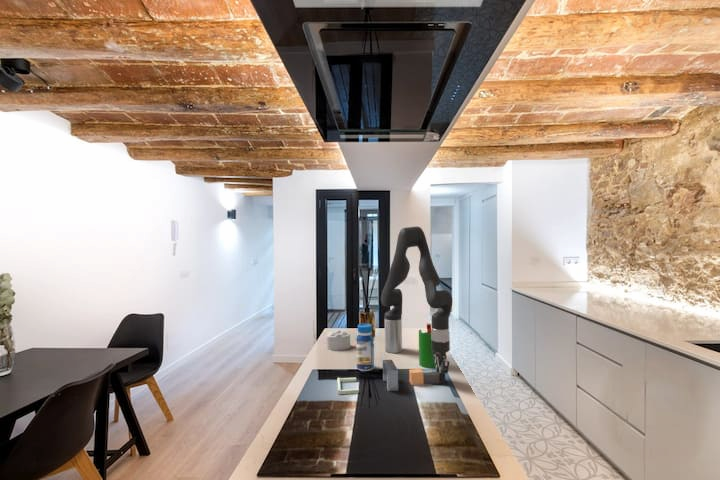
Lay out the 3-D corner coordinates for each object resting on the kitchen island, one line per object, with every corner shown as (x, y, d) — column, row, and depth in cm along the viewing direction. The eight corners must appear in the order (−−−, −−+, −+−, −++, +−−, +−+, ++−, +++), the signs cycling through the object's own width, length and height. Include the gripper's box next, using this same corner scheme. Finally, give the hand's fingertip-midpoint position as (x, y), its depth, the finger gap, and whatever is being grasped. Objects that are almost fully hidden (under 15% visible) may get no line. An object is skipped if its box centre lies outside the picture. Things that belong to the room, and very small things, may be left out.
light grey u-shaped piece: (337, 381, 138) (337, 377, 138) (356, 380, 139) (356, 376, 139) (338, 394, 126) (338, 390, 126) (358, 393, 127) (358, 389, 127)
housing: (388, 391, 128) (387, 370, 128) (382, 378, 140) (382, 360, 140) (398, 390, 128) (397, 370, 129) (392, 378, 140) (391, 359, 140)
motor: (439, 361, 159) (439, 320, 160) (442, 368, 150) (441, 325, 151) (418, 361, 160) (418, 320, 161) (420, 368, 151) (419, 324, 152)
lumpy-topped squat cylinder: (328, 344, 189) (327, 329, 189) (350, 344, 190) (350, 329, 190) (326, 350, 179) (326, 334, 179) (350, 349, 179) (350, 334, 179)
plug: (441, 379, 138) (441, 367, 138) (444, 383, 135) (444, 371, 135) (409, 381, 137) (409, 369, 137) (411, 385, 133) (411, 372, 133)
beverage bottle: (378, 368, 152) (377, 325, 152) (364, 373, 146) (363, 328, 147) (366, 363, 158) (366, 322, 158) (352, 367, 153) (352, 324, 153)
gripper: (426, 334, 143) (427, 374, 143) (437, 344, 129) (437, 388, 129) (443, 333, 144) (443, 373, 144) (455, 343, 130) (456, 387, 130)
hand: (441, 380), depth 136 cm, fingers closed on plug, 3 cm apart
